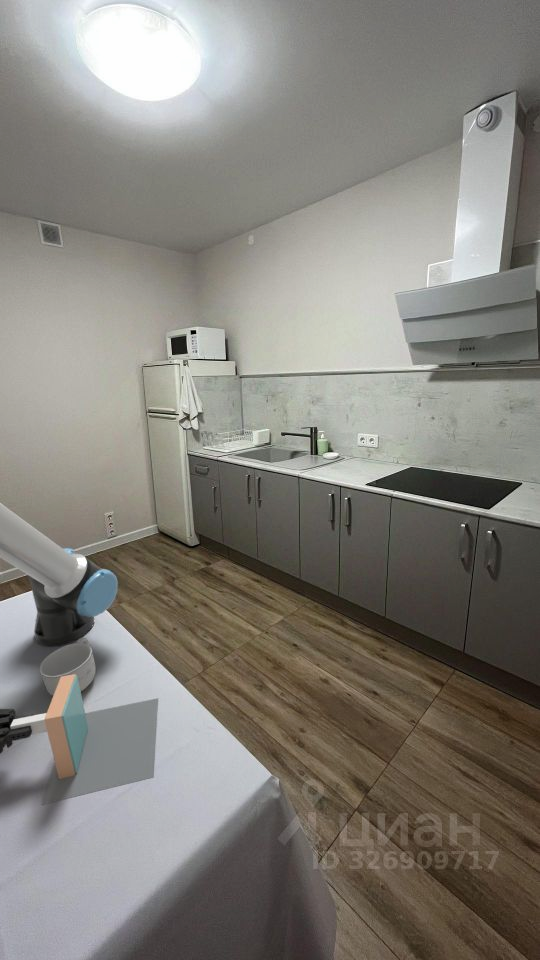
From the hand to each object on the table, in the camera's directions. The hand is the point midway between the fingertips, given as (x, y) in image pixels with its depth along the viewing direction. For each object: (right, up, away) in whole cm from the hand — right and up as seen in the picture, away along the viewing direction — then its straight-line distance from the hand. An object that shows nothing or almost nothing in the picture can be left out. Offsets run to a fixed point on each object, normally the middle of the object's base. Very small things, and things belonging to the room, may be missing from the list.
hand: (53, 721), depth 72 cm
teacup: (-6, -4, +21) cm, 23 cm away
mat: (+8, -8, +5) cm, 12 cm away
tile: (+2, -8, +3) cm, 9 cm away
